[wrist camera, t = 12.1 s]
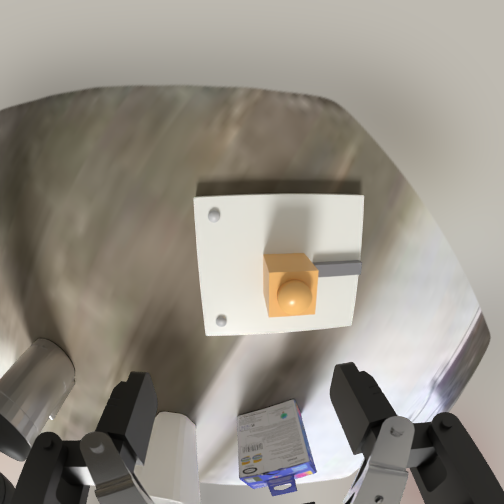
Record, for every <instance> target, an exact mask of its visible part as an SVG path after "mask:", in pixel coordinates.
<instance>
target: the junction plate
mask: <svg viewBox="0 0 504 504" xmlns="http://www.w3.org/2000/svg"><path fill="white" fill-rule="evenodd" d="M363 208H364V196H363V195H359V194H320V193H278V194H237V195H213V196H196V197H194V214H195V229H196V243H197V256H198V267H199V278H200V288H201V298H202V307H203V316H204V324H205V332H206V336H222V335H250V334H268V333H283V332H296V331H307V330H317V329H327V328H336V327H344V326H351V325H352V319H353V313H354V306H355V299H356V291H357V283H358V275H361V268H362V262H361V261H360V254H361V242H362V228H363ZM287 253H305V255H306V256H307V257H308V258H309V259H310V261H311V262H312V263H313V264H314V266H315V267H316V268H317V269H318V270H319V272H318V286H317V298H316V310H315V314H313V315H300V316H285V317H269V316H268V312H267V307H266V303H265V298H264V294H263V254H287Z"/></svg>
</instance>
